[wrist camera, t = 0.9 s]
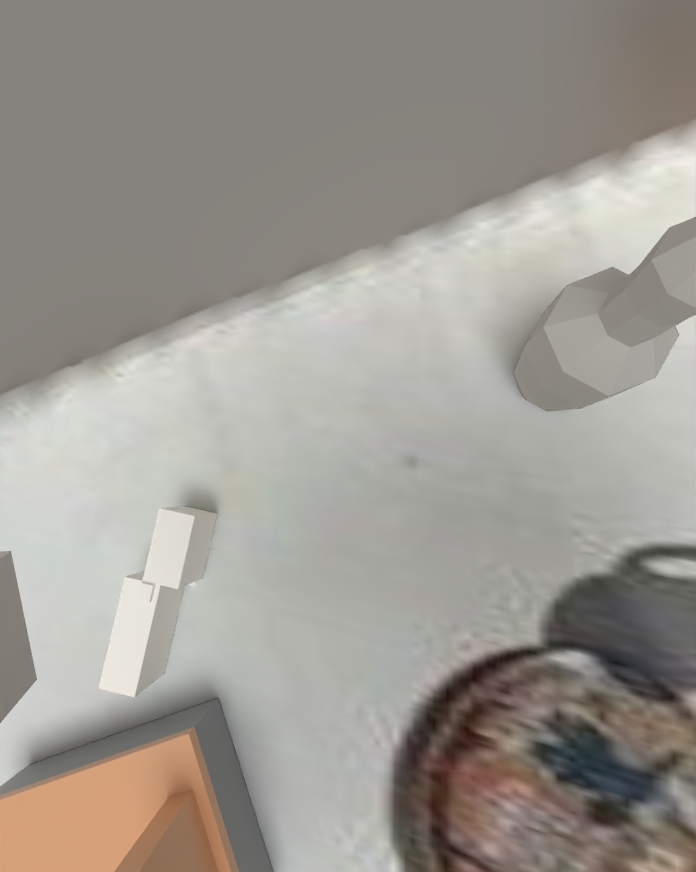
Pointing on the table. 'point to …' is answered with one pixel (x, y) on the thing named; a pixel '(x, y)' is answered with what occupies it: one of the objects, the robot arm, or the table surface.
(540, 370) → the low poly bottle
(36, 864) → the tan l-shaped piece
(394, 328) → the table surface
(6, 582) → the robot arm
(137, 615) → the white stepped block
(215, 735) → the parts tub
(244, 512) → the table surface
